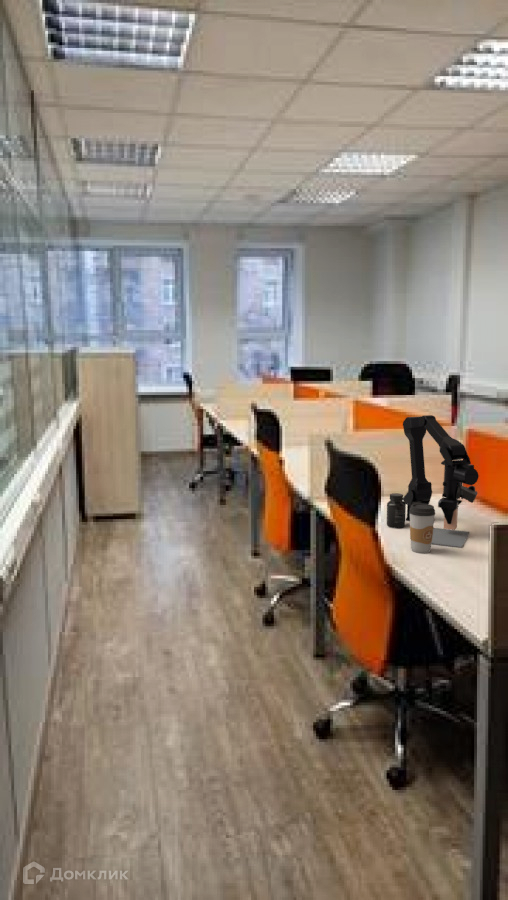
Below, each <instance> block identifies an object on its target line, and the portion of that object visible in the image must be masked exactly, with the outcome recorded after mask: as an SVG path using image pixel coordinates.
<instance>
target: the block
mask: <svg viewBox="0 0 508 900" xmlns="http://www.w3.org/2000/svg"><path fill="white" fill-rule="evenodd" d="M458 511H459V507H458V508H457V509H456V510H454V513H453V518H452V522H451V524H448V523H447V521H446V518H445V516H444V515H443V529H449V530H457V527H458V513H459V512H458Z"/></svg>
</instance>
